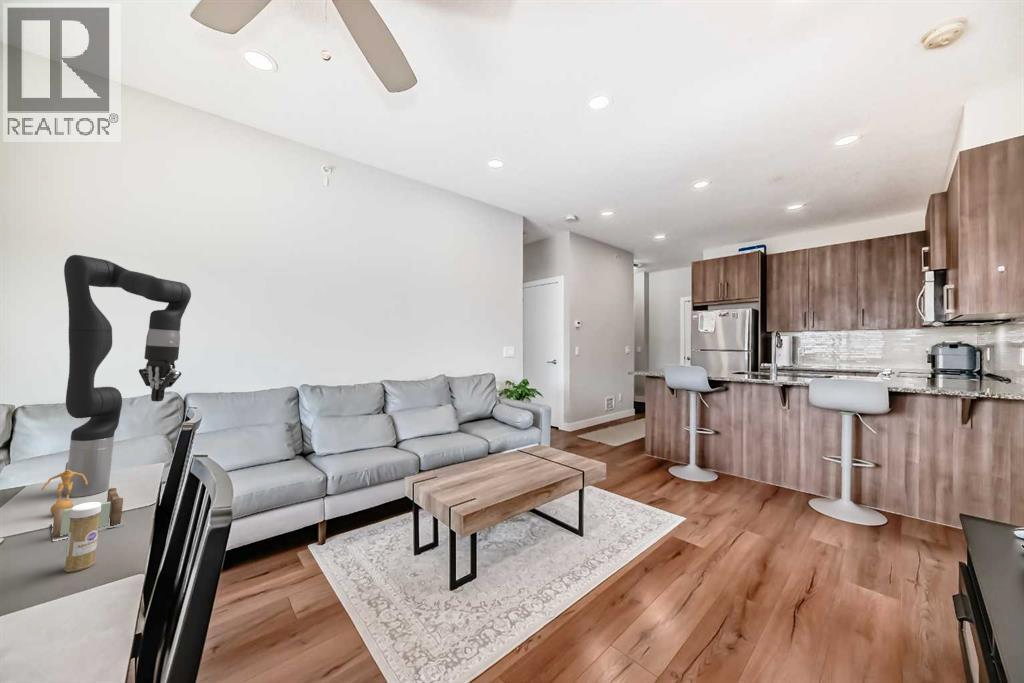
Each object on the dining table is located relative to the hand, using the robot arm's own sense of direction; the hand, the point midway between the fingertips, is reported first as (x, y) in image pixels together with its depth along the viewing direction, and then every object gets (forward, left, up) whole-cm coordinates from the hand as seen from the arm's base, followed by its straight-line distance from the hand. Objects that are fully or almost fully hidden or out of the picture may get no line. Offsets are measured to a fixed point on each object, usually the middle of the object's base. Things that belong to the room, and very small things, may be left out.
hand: (157, 400), depth 112 cm
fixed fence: (+2, -10, -31) cm, 33 cm away
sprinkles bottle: (+19, -28, -32) cm, 46 cm away
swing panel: (+2, -17, -31) cm, 35 cm away
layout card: (-1, -14, -31) cm, 34 cm away
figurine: (-14, -10, -32) cm, 36 cm away
